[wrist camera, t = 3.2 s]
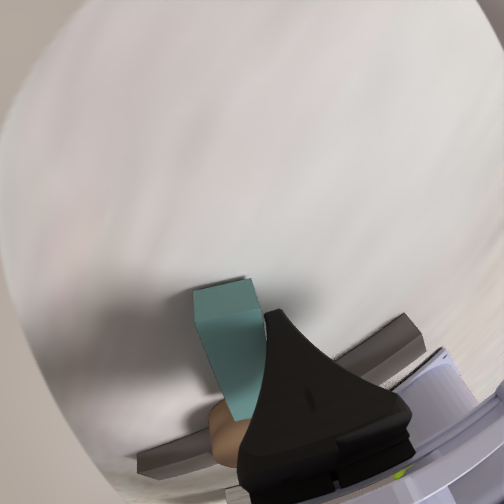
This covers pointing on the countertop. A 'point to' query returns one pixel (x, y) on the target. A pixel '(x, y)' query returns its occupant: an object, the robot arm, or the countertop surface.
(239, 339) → the teal rectangular block
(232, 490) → the syrup box
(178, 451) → the grey brown t-shaped piece
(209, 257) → the countertop surface
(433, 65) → the countertop surface
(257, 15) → the countertop surface
